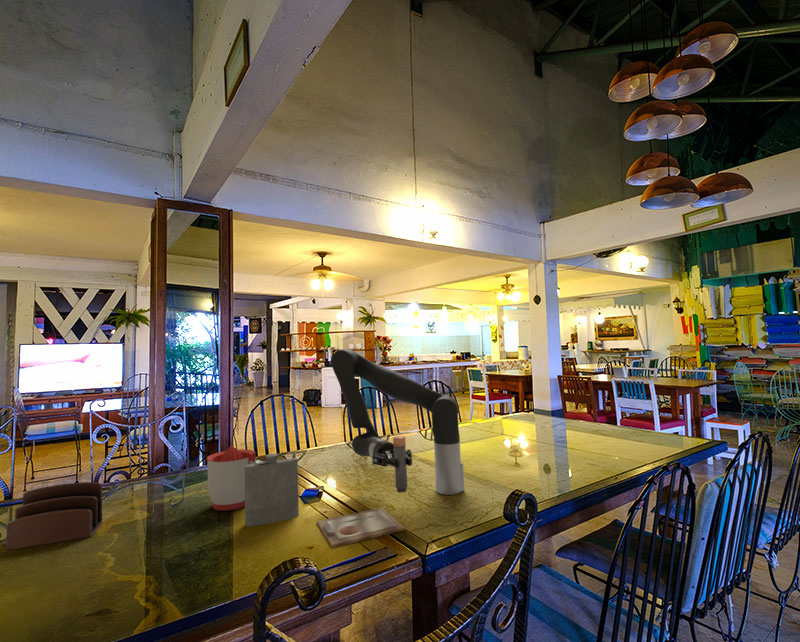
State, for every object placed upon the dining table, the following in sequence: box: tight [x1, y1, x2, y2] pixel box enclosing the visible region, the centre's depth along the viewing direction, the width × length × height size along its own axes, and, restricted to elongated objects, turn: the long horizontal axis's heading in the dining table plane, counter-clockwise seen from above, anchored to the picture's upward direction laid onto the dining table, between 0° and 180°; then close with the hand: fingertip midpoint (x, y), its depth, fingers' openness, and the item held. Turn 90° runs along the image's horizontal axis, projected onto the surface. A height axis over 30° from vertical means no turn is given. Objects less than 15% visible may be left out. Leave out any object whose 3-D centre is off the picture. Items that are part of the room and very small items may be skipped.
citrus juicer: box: [206, 445, 257, 512], centre depth 143 cm, size 16×17×20 cm
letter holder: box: [5, 481, 103, 551], centre depth 123 cm, size 10×20×14 cm, turn 110°
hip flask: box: [244, 453, 300, 527], centre depth 129 cm, size 16×4×20 cm, turn 115°
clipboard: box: [316, 507, 406, 549], centre depth 121 cm, size 21×17×2 cm
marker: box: [392, 435, 408, 493], centre depth 128 cm, size 4×4×16 cm
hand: (404, 463), depth 125 cm, fingers closed on marker, 3 cm apart
